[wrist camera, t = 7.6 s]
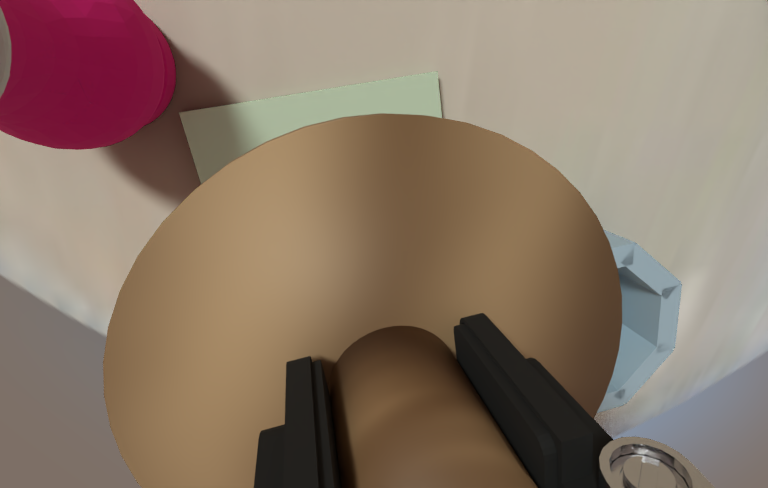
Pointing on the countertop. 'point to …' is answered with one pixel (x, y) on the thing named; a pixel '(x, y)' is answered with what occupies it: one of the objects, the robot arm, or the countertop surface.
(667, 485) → the robot arm
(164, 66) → the pepper mill
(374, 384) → the lid
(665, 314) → the bowl
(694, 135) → the countertop surface
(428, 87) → the mat
